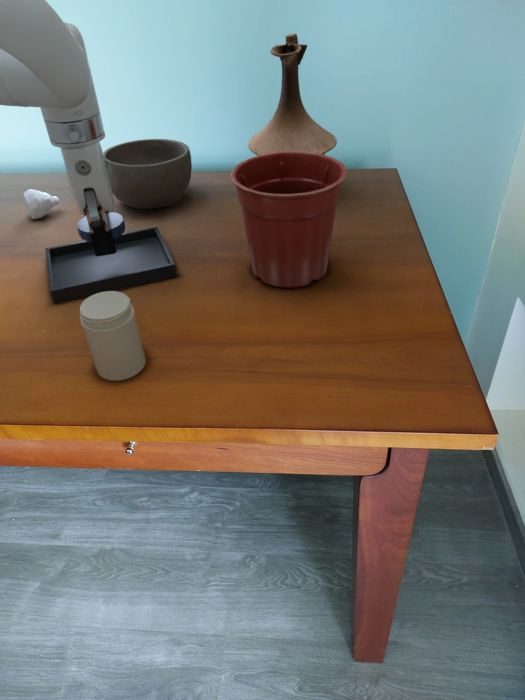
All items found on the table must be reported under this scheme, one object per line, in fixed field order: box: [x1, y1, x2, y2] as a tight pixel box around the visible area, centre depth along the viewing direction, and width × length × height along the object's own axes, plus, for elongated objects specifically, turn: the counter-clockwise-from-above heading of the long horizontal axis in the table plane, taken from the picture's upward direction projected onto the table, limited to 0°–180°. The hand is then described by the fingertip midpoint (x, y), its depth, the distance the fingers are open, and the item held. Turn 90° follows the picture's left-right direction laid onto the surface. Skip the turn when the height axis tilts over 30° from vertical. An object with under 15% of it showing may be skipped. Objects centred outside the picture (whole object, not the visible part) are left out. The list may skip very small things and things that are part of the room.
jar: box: [79, 290, 147, 382], centre depth 66 cm, size 6×6×10 cm
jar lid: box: [76, 211, 126, 242], centre depth 83 cm, size 7×7×2 cm
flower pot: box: [230, 151, 347, 289], centre depth 80 cm, size 16×16×16 cm
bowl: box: [103, 138, 193, 210], centre depth 105 cm, size 17×18×10 cm
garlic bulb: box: [22, 188, 60, 220], centre depth 102 cm, size 6×6×5 cm
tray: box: [44, 226, 178, 305], centre depth 87 cm, size 19×14×2 cm
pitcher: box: [247, 33, 338, 156], centre depth 99 cm, size 18×17×28 cm
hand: (105, 241), depth 84 cm, fingers closed on jar lid, 7 cm apart
